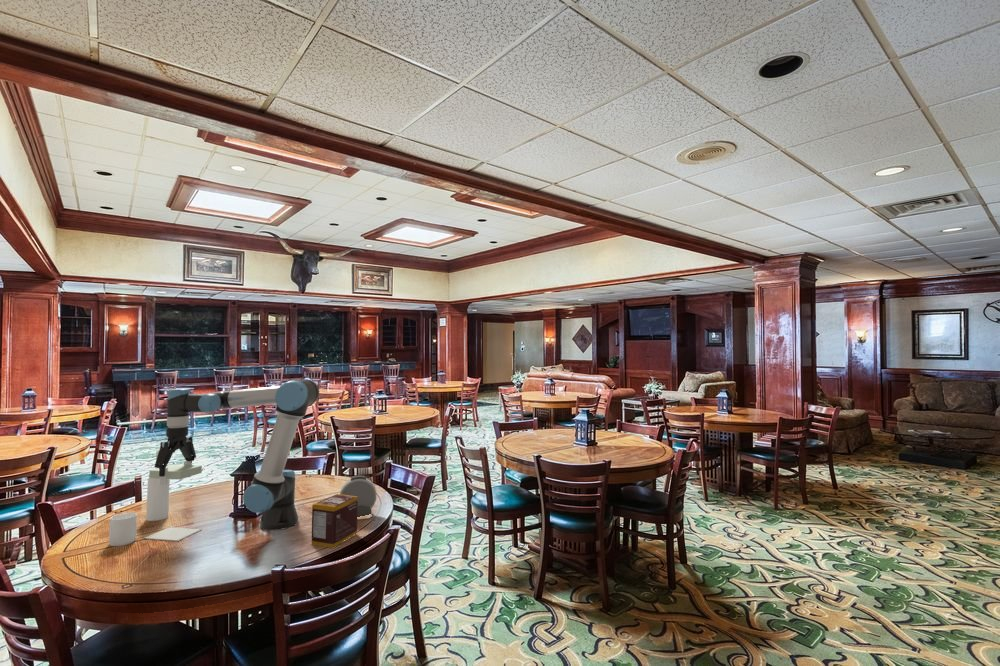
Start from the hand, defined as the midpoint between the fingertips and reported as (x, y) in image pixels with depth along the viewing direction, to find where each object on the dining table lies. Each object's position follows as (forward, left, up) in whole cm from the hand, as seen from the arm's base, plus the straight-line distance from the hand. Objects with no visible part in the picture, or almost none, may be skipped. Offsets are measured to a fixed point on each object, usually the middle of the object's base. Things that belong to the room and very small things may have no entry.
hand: (175, 480), depth 195 cm
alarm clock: (-64, -33, -22) cm, 75 cm away
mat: (0, 0, -22) cm, 22 cm away
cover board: (0, 0, +2) cm, 2 cm away
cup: (+14, +9, -22) cm, 28 cm away
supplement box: (-67, -6, -22) cm, 71 cm away
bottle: (+23, -16, -22) cm, 36 cm away
